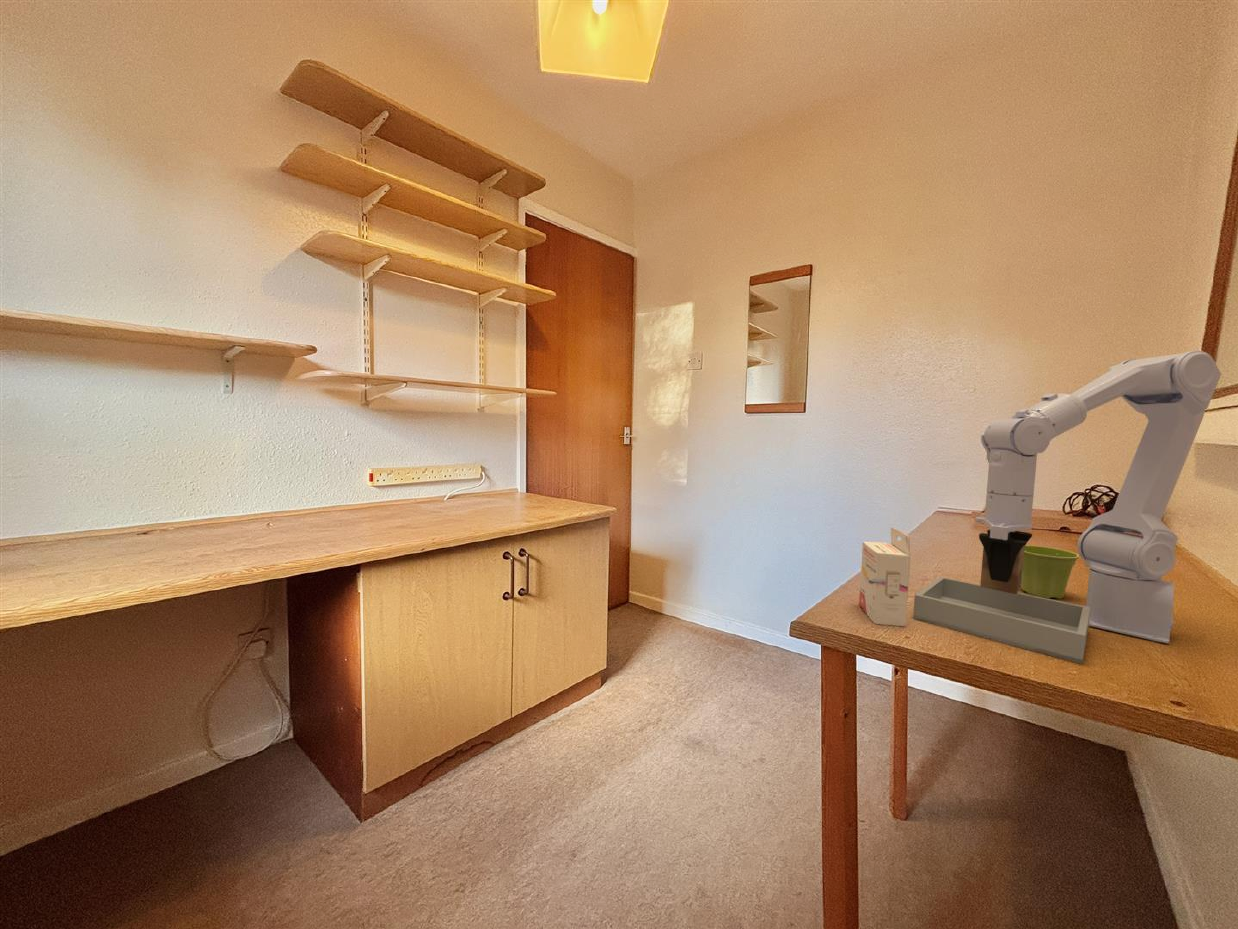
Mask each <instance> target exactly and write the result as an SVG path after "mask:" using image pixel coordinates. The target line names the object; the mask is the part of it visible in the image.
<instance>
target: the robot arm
mask: <svg viewBox="0 0 1238 929" xmlns="http://www.w3.org/2000/svg"><path fill="white" fill-rule="evenodd" d="M1213 358H1214V357H1212V356H1211V354H1209V353H1208V352H1206V351H1203V350H1191V351H1190V350H1189V351H1187V352H1186V351H1185V352H1184V353H1183V352H1182V353H1175V354H1174V353H1173V354H1168V355H1167V354H1166V355H1161V356H1160V355H1159V356H1153V357H1145V358H1139V359H1137V358H1134V359H1132V358H1131V359H1125V360H1123V361H1121V362H1120V363H1118V364H1115V365H1113V366H1110V367H1109V369H1108V371H1107V372H1105V373H1104V374H1102V375H1100V376H1099V377H1097V378H1095V379H1094V380H1092V381H1090V382H1089V383H1087V384H1086V385H1084V386H1082V387H1080V388H1079V389H1077V390H1075V391H1074V392H1072V393H1071V394H1068V393H1063V392H1062V393H1059V392H1058V393H1056V392H1055V393H1046V394H1044V395H1042V396H1041V397H1040V398H1041V401H1039V402H1038V403H1036V404H1033V405H1031V406H1030V407H1028V408H1021V409H1019V410H1017V411H1015V412H1014V413H1015V415H1014V416H1012V417H1010V418H998V419H996V420H994V421H992V422H991V423H990V424H989V425H988V426H987V428H986V429H985V431H984V434H982V435H980V440H981V441H980V442H981V444H982V447H983V448H984V449H985V452H986V461H987V463H988V472H987V484H986V498H985V508H984V510H985V511H984V517H983V516H976V517H975V520H974V522H975V523H982V524H983V525H985V526H986V527H988V528H989V529H987V530H986V532H987V533H985V532H981V533H979V534H978V539H979V541H980V543H981V544H982V547H984V549H985V552H986V556H987V561H988V567H989V573H990V577H991V579H992V580H997V581H1002V582H1008V581H1009V579H1010V577H1011V574H1012V570H1013V567H1014V563H1015V560H1016V558H1017V556H1018V554H1019V552H1020V550H1021V548H1022V547H1023V546H1024V547H1025V545H1028V544H1027V543H1028V542H1029V541H1030V540H1031V539H1032V537H1033V534H1032V533H1031V532H1025V531H1031V530H1032V529H1033V523H1032V517H1033V516H1032V515H1033V507H1034V494H1035V493H1034V492H1035V481H1036V470H1037V459H1038V455H1039V454H1042V453H1044V452H1045V451H1046V450H1047V448H1048V447H1049V445H1050V443H1051V441H1052V440H1053V439H1055V438H1057V437H1058V436H1060V435H1062V434H1064V433H1066V432H1068V431H1070V430H1071V429H1074V428H1075V427H1077V426H1080V425H1081V424H1083V423H1084V422H1085V420H1086V418H1087V415H1088V412H1089V411H1091V410H1094V409H1096V408H1098V407H1100V406H1102V405H1103V406H1104V405H1105V404H1108V403H1109V402H1111V401H1113V400H1116V399H1118V398H1122V400H1124V401H1125V402H1126V403H1127V404H1128V405H1129V406H1131V407H1132V408H1133V409H1134V410H1135V411H1136V412H1137V413H1140V414H1143V415H1145V417H1146V418H1147V423H1146V426H1145V429H1144V431H1143V433H1142V436H1141V438H1140V441H1139V444H1138V446H1137V449H1136V451H1135V454H1134V456H1133V459H1132V461H1131V464H1130V465H1129V469H1128V471H1127V473H1126V476H1125V478H1124V480H1123V483H1122V486H1121V488H1120V490H1119V492H1118V495H1117V497H1116V500H1115V504H1114V505H1113V507H1112V509H1111V510H1109V511H1106V512H1104V513H1102V514H1100V515H1097V516H1095V517H1093V518H1092V519H1091V522H1090V524H1089V525H1088V527H1087V529H1085V531H1083V532H1082V533H1081V534H1080V536H1079V538H1078V540H1077V545H1076V546H1077V551H1078V555H1079V556H1080V557H1081V559H1083V561H1085V563H1084V564H1085V565H1084V566H1085V567H1088V568H1089V572H1088V573H1089V574H1088V582H1087V583H1088V584H1087V593H1086V604H1085V606H1086V607H1090V616H1089V626H1088V627H1092V628H1097V629H1101V630H1105V631H1106V630H1107V631H1111V632H1114V633H1118V634H1119V633H1120V634H1124V635H1127V636H1133V637H1137V638H1141V639H1145V640H1149V641H1154V642H1159V643H1163V644H1170V639H1171V638H1170V637H1171V631H1172V630H1173V629H1174V618H1173V610H1174V609H1173V608H1174V603H1175V602H1174V600H1175V583H1174V582H1172V581H1170V580H1164V579H1162V578H1163V577H1165V576H1166V575H1167V574H1169V572H1171V570H1172V569H1173V568H1174V565H1175V563H1176V545H1177V542H1178V540H1179V536H1177V534H1176V533H1175V532H1173V531H1172V530H1171V528H1169V527H1168V526H1167V525H1166V524H1165V523H1164V522H1163V521H1162V519H1163V516H1164V515H1165V512H1166V509H1167V507H1168V504H1169V502H1170V500H1171V497H1172V495H1173V492H1174V490H1175V487H1176V485H1177V483H1178V479H1179V478H1180V475H1181V472H1182V470H1183V468H1184V465H1185V463H1186V460H1187V458H1188V455H1189V453H1190V451H1191V448H1192V446H1193V444H1194V441H1195V438H1196V436H1197V434H1198V431H1199V429H1200V427H1201V424H1202V421H1203V419H1204V416H1205V411H1206V410H1208V408H1209V406H1210V403H1211V401H1212V398H1213V396H1214V394H1215V390H1216V388H1217V386H1218V383H1219V381H1220V379H1221V376H1222V372H1221V371H1220V369H1219V367H1218V364H1216V362H1215V360H1214V359H1213Z"/></svg>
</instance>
